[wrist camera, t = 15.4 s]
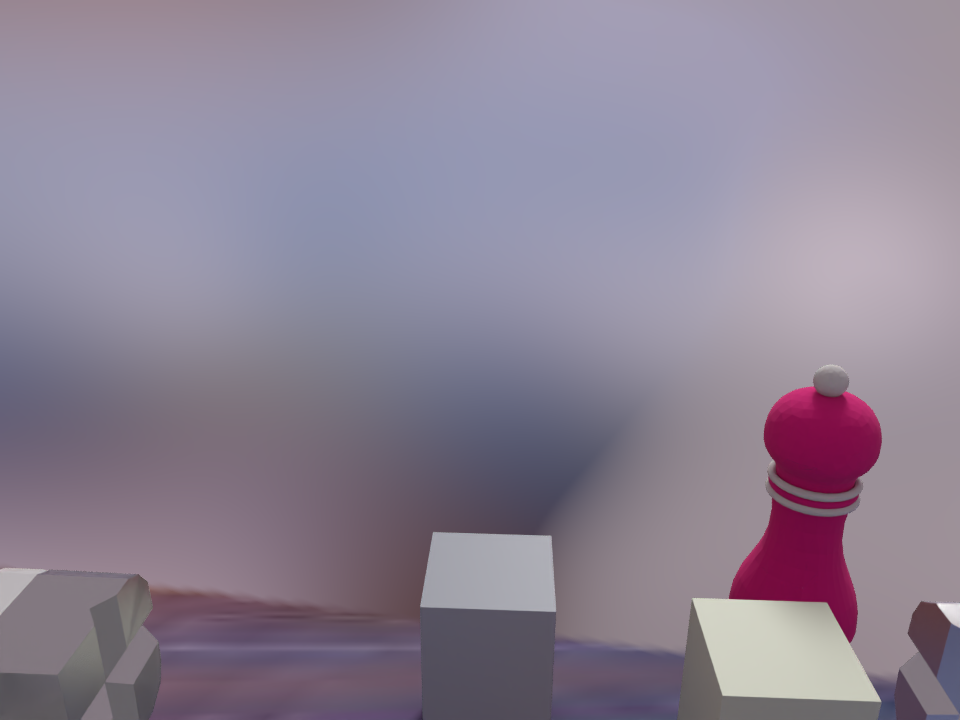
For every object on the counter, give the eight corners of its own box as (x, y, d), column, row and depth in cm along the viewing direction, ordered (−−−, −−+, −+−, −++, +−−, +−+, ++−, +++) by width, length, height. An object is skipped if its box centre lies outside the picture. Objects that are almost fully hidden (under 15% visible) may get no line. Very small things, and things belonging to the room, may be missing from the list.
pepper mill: (710, 685, 50) (752, 376, 43) (732, 615, 56) (772, 335, 49) (839, 726, 47) (908, 402, 40) (848, 648, 53) (908, 355, 46)
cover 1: (423, 782, 43) (420, 607, 39) (435, 691, 49) (433, 532, 45) (547, 787, 43) (556, 611, 39) (543, 696, 49) (551, 536, 45)
